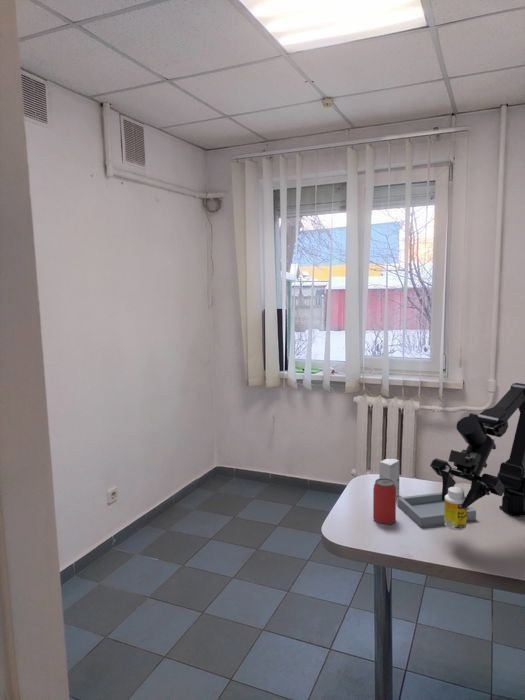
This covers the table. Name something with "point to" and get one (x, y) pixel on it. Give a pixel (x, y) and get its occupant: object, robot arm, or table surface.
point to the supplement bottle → (455, 509)
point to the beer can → (384, 501)
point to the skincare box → (390, 471)
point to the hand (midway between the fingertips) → (452, 504)
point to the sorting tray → (428, 509)
